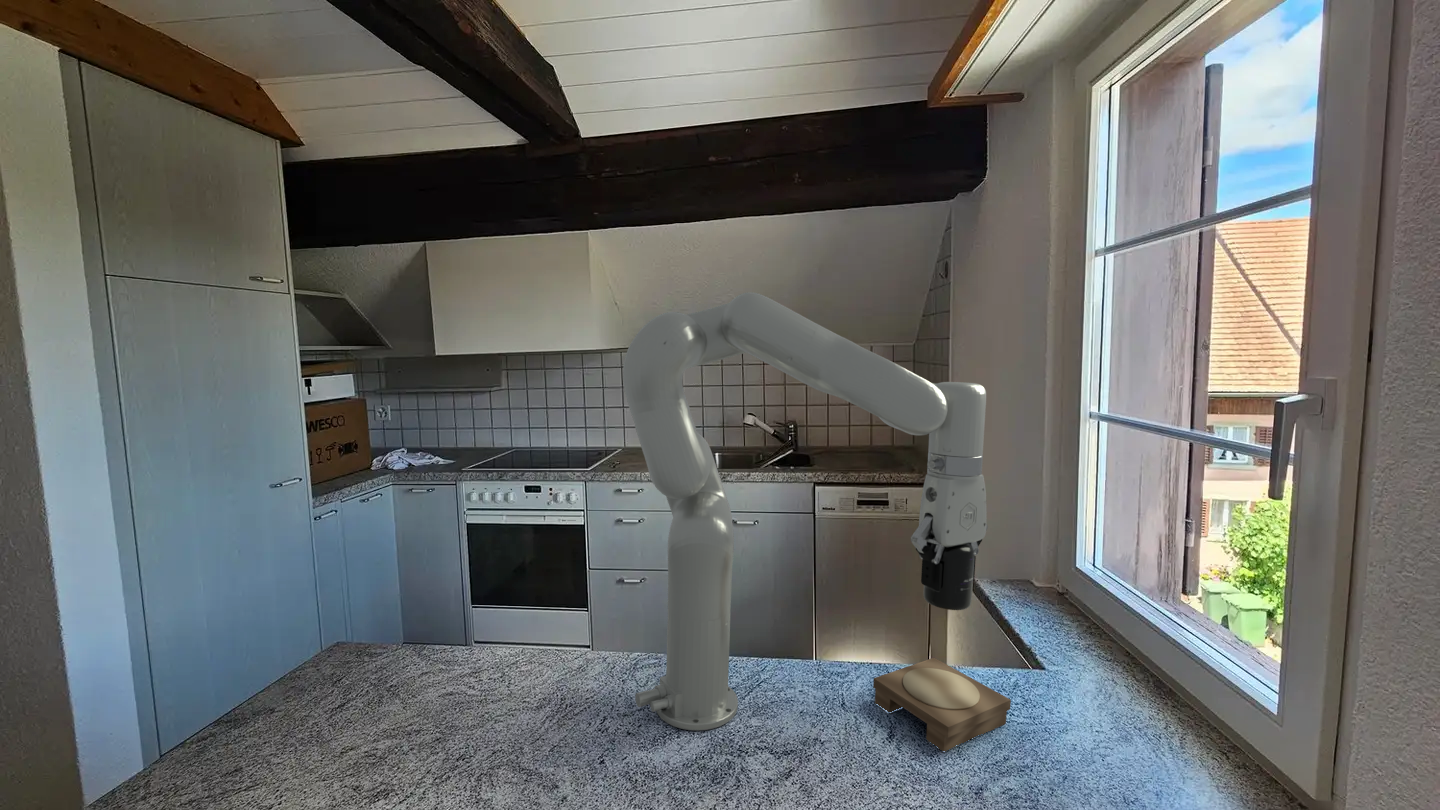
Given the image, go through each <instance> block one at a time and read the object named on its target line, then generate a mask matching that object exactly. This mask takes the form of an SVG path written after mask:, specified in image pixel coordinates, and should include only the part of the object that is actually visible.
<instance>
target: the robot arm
mask: <svg viewBox="0 0 1440 810" xmlns="http://www.w3.org/2000/svg"><path fill="white" fill-rule="evenodd" d="M743 354H748V355H751V356H752V357H754V358H756V359H759V360H760V361H762V362H763V363H766V364H767V365H770V366H771V367H772V368H775V369H777V370H778V371H781V372H783V373H784V374H786V375H787V376H790V377H791V378H794V379H795V380H797V381H799V382H800V383H803V384H805V385H807V386H808V387H811V388H813V389H814V390H817V391H818V392H821V393H824V394H828V395H829V396H834V397H837V398H839V399H841V400H843V401H846V402H848V403H851V404H853V405H854V406H856V407H858V408H860V409H862V410H865V411H867V412H868V413H870V414H872V415H873V416H876V417H877V418H879V420H881V421H882V422H883V423H884V424H885V425H887V426H889V427H891V428H894V429H896V430H899V431H901V432H903V433H906V434H908V435H912V436H926V435H928V453H927V465H926V466H927V467H926V468H927V472H926V473H927V474H926V475H925V479H924V483H923V487H922V494H921V499H920V509H919V517H918V518H919V520H918V526H917V528H916V529H915V531H914V532H913V534H912V535H911V536H910V542H911V544H912V545H913V546H914V548H915V550H916V552H917V553H918V555H919V559H921V574H920V575H921V576H920V578H921V580H920V582H921V584H922V585H923V586H924V585H925V586H928V587H930V588H932V589H935V590H940V589H941V584H942V563H939V561H940V559H941V556H942V553H943V550H944V548H945V547H952V546H957V545H962V544H967V543H969V544H970V545H971V546H972V547H973V549H974V552H975V554H974V571H973V582H974V581H975V576H976V575H975V573H976V561H977V560H976V559H977V558H976V557H977V555H978V554H979V551H980V549H979V546H981V543H982V542H983V539H984V538H985V537H986V533H987V530H988V527H989V526H988V524H987V517H988V515H987V514H988V513H987V491H986V482H985V478H984V477H985V476H984V474H983V460H984V459H983V457H984V456H983V455H984V454H983V453H984V442H985V440H984V439H985V438H984V437H985V422H986V410H987V408H986V407H987V391H986V389H985V386H983V385H981V384H979V383H977V382H965V381H964V382H962V381H961V382H960V381H941V382H938V383H935V382H930V381H929V380H927V379H925V378H924V377H922V376H920V375H918V374H916V373H914V372H912V371H911V370H908V369H906V368H905V367H903V366H901V365H899V364H897V363H896V362H893V361H892V360H890V359H887V358H885V357H883V356H881V355H879V354H877V353H875V352H873V351H870V350H869V349H867V348H865V347H862V346H860V345H859V344H857V343H856V342H854V341H852V340H849V339H848V338H846V337H844V336H841V335H840V334H837V333H835V332H833V331H831V330H830V329H828V328H826V327H825V326H822V325H820V324H819V323H816V322H814V321H812V320H811V319H809V318H807V317H805V316H803V315H801V313H798V312H796V311H794V310H793V309H791V308H789V307H787V306H785V305H784V304H781V303H779V302H777V301H775V300H774V299H772V298H770V297H768V296H765V295H763V294H761V293H759V292H755V291H754V292H753V291H750V292H748V291H747V292H743V293H741V294H739V295H737V296H735V297H734V298H733V299H732V300H730V301H729V302H728V303H724V304H722V305H718V306H715V307H712V308H711V307H710V308H707V309H705V310H704V309H703V310H700V311H696V312H692V313H687V314H686V313H683V312H678V311H668V312H664V313H661V314H659V315H656V316H655V317H653V318H652V319H651V320H649V321H648V322H646V324H644V325H643V327H641V329H639V331H638V332H637V333H636V334H635V336H634V337H633V339H632V340H631V343H630V344H629V346H628V349H627V351H626V354H625V357H624V361H623V366H622V368H623V369H622V381H623V383H622V384H623V388H624V393H625V398H626V401H627V404H628V408H629V411H630V412H629V413H630V414H631V417H632V421H633V424H634V428H635V430H636V432H635V433H636V434H637V438H638V440H639V441H638V442H639V443H640V448H641V450H642V454H643V457H644V459H645V463H646V466H647V467H646V468H647V469H648V474H649V477H650V479H651V482H652V484H653V485H654V487H655V488H656V490H658V492H660V494H661V495H663V496H664V497H666V500H667V503H668V506H669V508H670V511H671V515H672V520H671V524H670V527H669V531H668V537H667V629H666V630H667V631H666V632H667V633H666V669H665V671H666V672H665V675H663V676H660V677H659V684H658V685H655V686H654V688H652V689H649V690H648V689H647V690H644V691H641V692H637V693H635V697H634V698H635V703H636V706H637V707H638V708H641V707H644V706H648V705H649V706H650V710H651V712H652V713H654V712H656V713H657V715H658V717H659V718H660V719H661V720H663V722H665V723H667V724H668V725H670V726H671V727H674V728H678V729H682V730H687V731H698V732H699V731H707V730H712V729H716V728H718V727H719V728H720V727H721V726H723V725H725V724H727V723H728V722H730V721H731V720H732V719H733V718H734V717H735V716H736V714H737V711H738V706H739V705H738V703H739V701H738V700H739V699H738V696H737V693H736V692H735V691H734V690H733V689H732V688H731V687H730V686H729V668H730V667H729V666H730V665H729V664H730V639H731V638H730V637H731V636H730V635H731V631H730V630H731V609H732V608H731V605H732V602H731V601H732V581H733V580H732V579H733V578H732V576H733V564H734V563H733V562H734V550H735V549H734V547H735V543H734V542H735V541H734V540H735V539H734V537H735V536H734V535H735V534H734V524H733V523H734V522H733V516H732V510H731V507H730V504H729V501H728V497H727V495H726V492H725V489H724V488H725V487H724V485H723V483H722V479H721V476H720V473H719V471H718V467H717V464H716V461H715V458H714V455H713V452H712V450H711V447H710V445H709V442H707V440H706V438H704V437H703V436H702V435H701V434H700V433H699V432H698V430H697V427H696V424H695V421H694V418H693V415H692V412H691V409H690V408H691V407H690V404H689V401H688V398H687V396H686V394H685V390H684V386H683V378H684V373H685V371H686V370H687V369H690V368H695V367H699V366H702V365H705V364H710V363H714V362H718V361H722V360H724V359H729V358H732V357H736V356H739V355H743ZM934 538H935V539H936V540H934ZM932 544H934V545H936V548H935V551H934V552H933V551H932V549H931V545H932Z"/></svg>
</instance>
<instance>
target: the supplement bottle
mask: <svg viewBox="0 0 1440 810" xmlns="http://www.w3.org/2000/svg"><path fill="white" fill-rule="evenodd" d="M934 540H936V539H935V538H934ZM935 548H936V545H934V544H932V545H931V549H932V551H933V552H934V551H935ZM974 554H975V552H974V549H973V547H972V546H971V545H970V544H969V543H967V544H962V545H957V546H952V547H945V548H944V550H943V553H942V556H941V559H940V561H939V563H942V584H941V589H940V590H935V589H932V588H930V587H928V586H925V585H923V598H924V600H925V601H926V602H927V603H928V604H930V605H932V606H933V607H936V608H939V609H943V610H948V611H963V610H964V611H965V610H966V609H968V608H970V606H971V605H972V598H973V582H974V581H973V571H974Z"/></svg>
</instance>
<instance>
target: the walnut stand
mask: <svg viewBox="0 0 1440 810" xmlns="http://www.w3.org/2000/svg"><path fill="white" fill-rule="evenodd" d="M872 681H873V685H872V686H873V687H872V688H873V689H875V693H874V704H875V703H876V704H878V705H879V706H881V707H882V708H884V709H885V710H887V711H888V712H892V711H894V710H896V709H899V708H901V707H903V708H904V710H906V711H908V712H909V713H910V714H911V715H913V716H915V717H916V718H918V719H919V720H921V721H922V722H924V723H925V724H926V737H925V738H926V739H927V740H928V741H929V742H931V743H932V744H934V745H935V746H937V747H938V748H939V749H940V750H942V751H947V750H949V749H951V748H953V747H955V746H956V745H959V744H961V743H964V742H966V741H968V740H970V739H972V738H974V737H976V736H978V735H981V734H983V735H985V734H987V733H989V732H991V731H993V730H996V729H998V728H999V727H1002V726H1004V725H1006V724H1007V716H1008V715H1007V712H1008V711H1010V710H1011V706H1012V705H1011V703H1012V702H1011V701H1012V700H1011V699H1010V698H1009V697H1007V696H1004V695H1003V694H1001V693H999V692H998V691H996V690H994V689H992V688H990V687H988V686H987V685H984V684H983V683H981V682H979V681H978V680H976V679H974V678H972V677H970V676H968V675H966V674H965V673H962V672H960V670H957V669H955V667H952V666H950V665H949V664H947V663H945V662H943V661H941V660H940V659H937V658H935V657H931V658H929V659H925V660H923V661H919V662H916V663H914V664H911V665H908V666H905V667H903V668H902V667H901V668H899V669H897V670H894V671H891V672H888V673H885V674H881V675H879V676H876V677H873V680H872ZM995 728H996V729H995ZM988 731H989V732H988ZM986 732H987V733H986ZM984 733H985V734H984ZM981 736H982V735H981ZM976 738H977V737H976ZM974 739H975V738H974ZM972 740H973V739H972ZM928 741H927V742H928ZM970 741H971V740H970ZM929 742H928V743H929ZM968 742H969V741H968ZM966 743H967V742H966ZM932 744H931V745H932ZM964 744H965V743H964ZM935 746H934V747H935ZM959 746H960V745H959ZM955 748H956V747H955ZM939 749H938V750H939ZM953 749H954V748H953ZM940 750H939V751H940ZM951 750H952V749H951ZM942 751H941V752H942ZM949 751H950V750H949ZM947 752H948V751H947Z"/></svg>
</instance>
